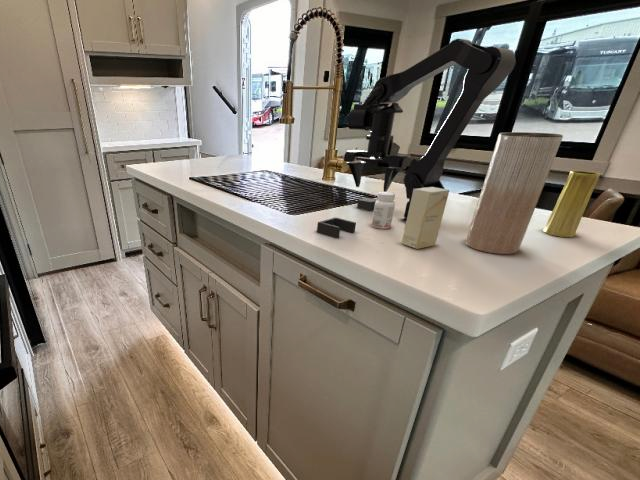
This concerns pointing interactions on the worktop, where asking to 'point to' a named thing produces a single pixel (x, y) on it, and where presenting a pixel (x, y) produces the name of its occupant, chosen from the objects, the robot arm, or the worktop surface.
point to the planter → (511, 190)
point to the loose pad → (366, 204)
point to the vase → (571, 204)
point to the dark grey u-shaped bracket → (335, 226)
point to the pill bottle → (383, 210)
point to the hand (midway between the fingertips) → (371, 189)
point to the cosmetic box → (424, 217)
